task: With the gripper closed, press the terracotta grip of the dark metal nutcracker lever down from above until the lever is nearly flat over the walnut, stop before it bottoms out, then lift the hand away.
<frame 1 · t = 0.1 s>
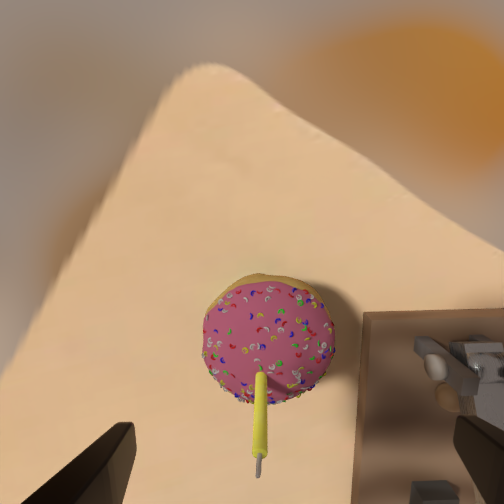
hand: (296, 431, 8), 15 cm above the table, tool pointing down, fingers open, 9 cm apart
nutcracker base: (424, 417, 25), on the table
cupcake: (262, 309, 23), on the table
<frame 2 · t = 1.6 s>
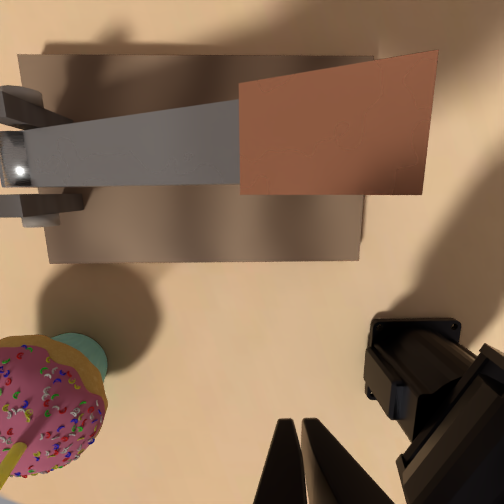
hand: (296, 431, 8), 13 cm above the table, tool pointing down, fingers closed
lever: (153, 152, 11), point 8 cm above the table, hinge at 25.0°
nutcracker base: (205, 167, 19), on the table
cupcake: (76, 360, 22), on the table
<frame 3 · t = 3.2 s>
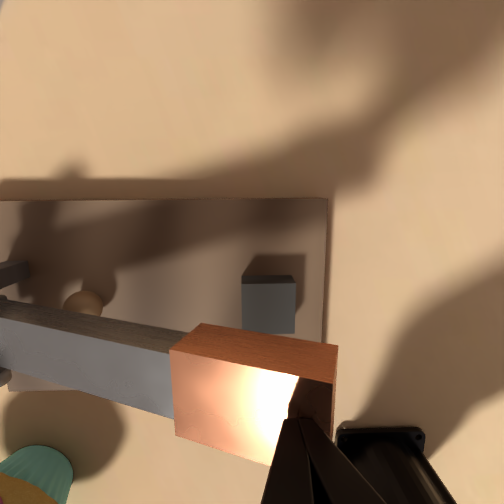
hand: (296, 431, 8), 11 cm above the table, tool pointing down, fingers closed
lever: (98, 354, 12), point 7 cm above the table, hinge at 21.4°, touching gripper
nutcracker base: (165, 292, 19), on the table
cupcake: (41, 469, 22), on the table
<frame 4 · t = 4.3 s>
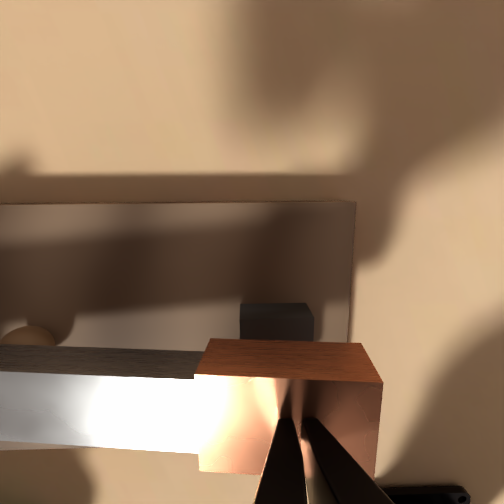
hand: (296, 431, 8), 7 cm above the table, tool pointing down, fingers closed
lever: (78, 393, 10), point 5 cm above the table, hinge at 6.0°, touching gripper
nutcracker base: (142, 321, 15), on the table
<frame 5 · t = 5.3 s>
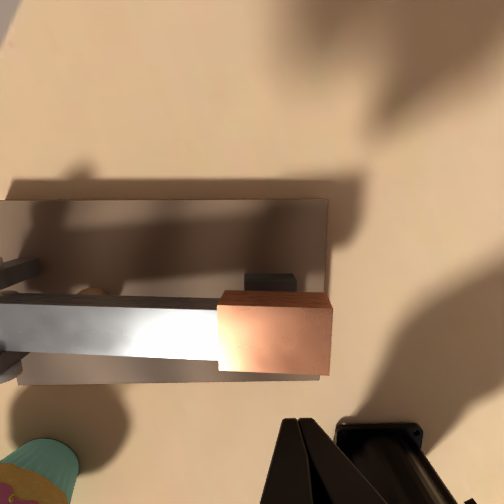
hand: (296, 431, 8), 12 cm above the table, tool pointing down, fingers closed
lever: (137, 325, 14), point 5 cm above the table, hinge at 6.0°
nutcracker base: (170, 289, 20), on the table
cupcake: (48, 462, 22), on the table
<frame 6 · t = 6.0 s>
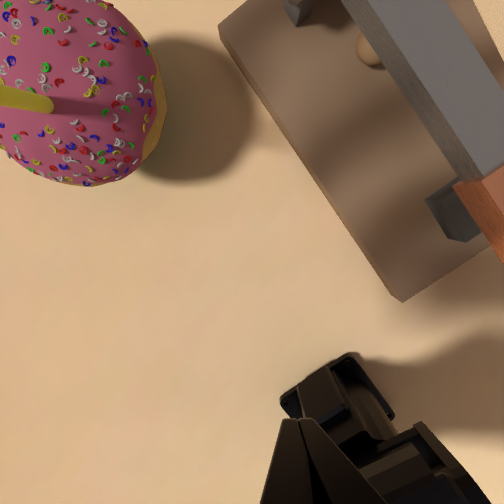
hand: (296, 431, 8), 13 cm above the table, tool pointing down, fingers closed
lever: (445, 85, 13), point 5 cm above the table, hinge at 6.0°
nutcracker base: (391, 120, 18), on the table
cupcake: (116, 119, 18), on the table
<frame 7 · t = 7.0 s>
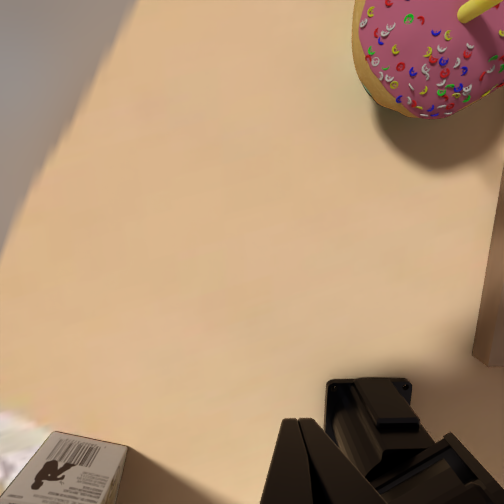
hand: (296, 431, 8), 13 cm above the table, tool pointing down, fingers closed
cupcake: (392, 61, 18), on the table
coffee box: (84, 479, 24), on the table
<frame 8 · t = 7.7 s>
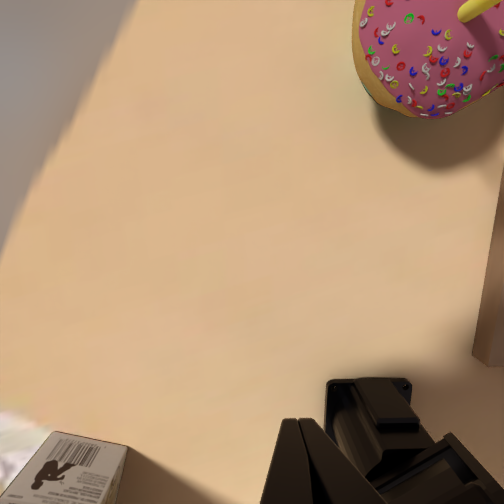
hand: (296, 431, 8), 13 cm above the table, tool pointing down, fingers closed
cupcake: (392, 61, 18), on the table
coffee box: (84, 478, 24), on the table
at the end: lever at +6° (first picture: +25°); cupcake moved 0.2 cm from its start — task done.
